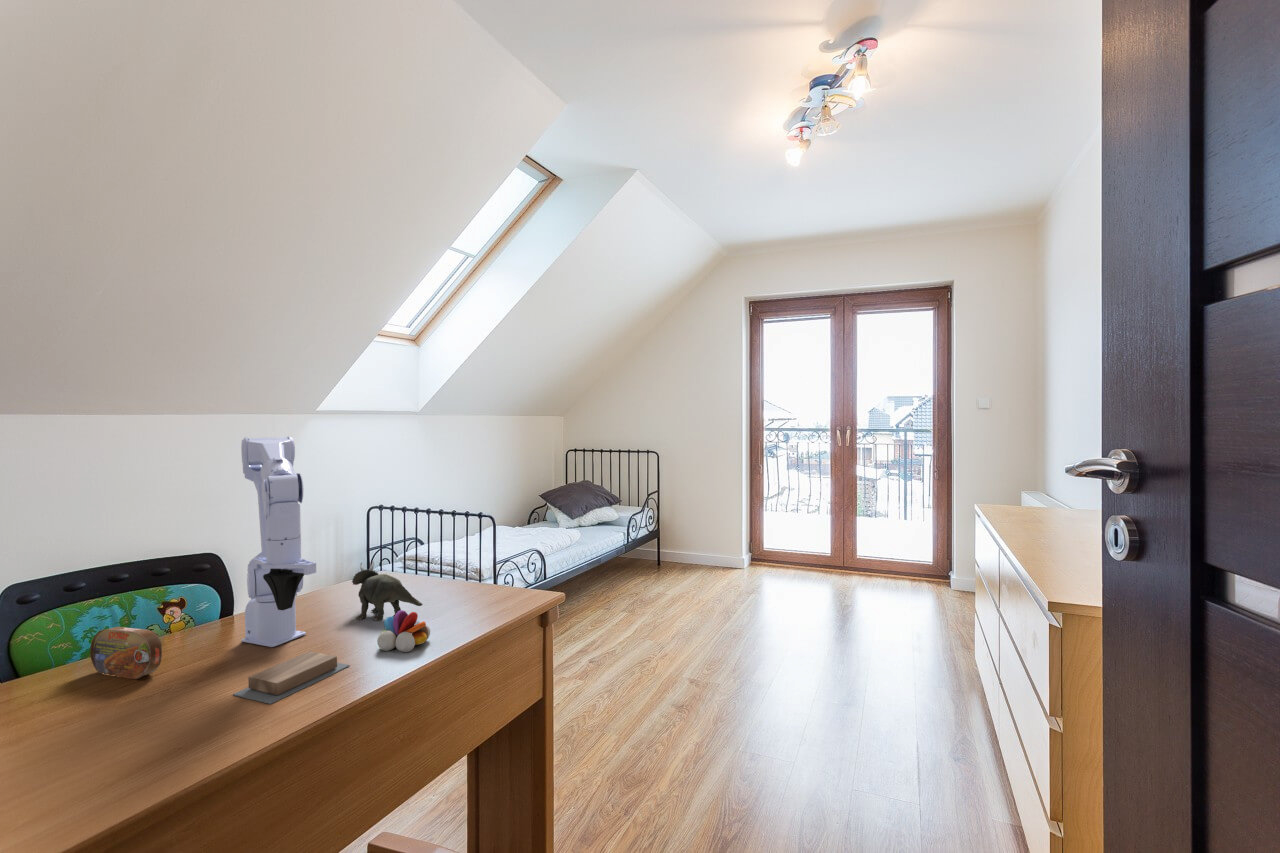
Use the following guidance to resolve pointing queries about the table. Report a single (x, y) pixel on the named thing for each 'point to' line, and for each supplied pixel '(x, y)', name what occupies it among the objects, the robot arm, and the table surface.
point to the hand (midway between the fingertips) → (285, 608)
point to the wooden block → (292, 672)
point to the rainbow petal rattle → (403, 632)
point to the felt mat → (273, 698)
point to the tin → (126, 652)
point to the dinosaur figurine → (380, 592)
